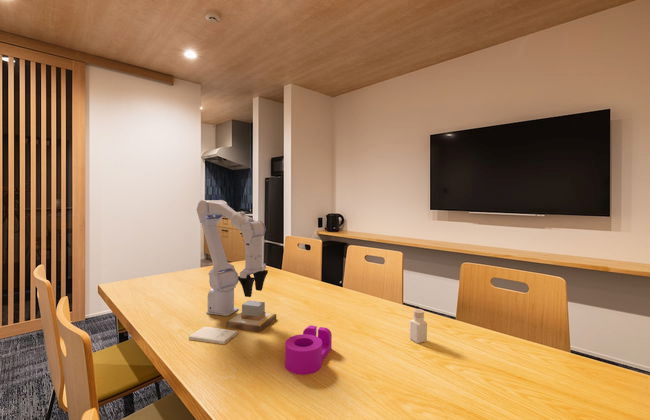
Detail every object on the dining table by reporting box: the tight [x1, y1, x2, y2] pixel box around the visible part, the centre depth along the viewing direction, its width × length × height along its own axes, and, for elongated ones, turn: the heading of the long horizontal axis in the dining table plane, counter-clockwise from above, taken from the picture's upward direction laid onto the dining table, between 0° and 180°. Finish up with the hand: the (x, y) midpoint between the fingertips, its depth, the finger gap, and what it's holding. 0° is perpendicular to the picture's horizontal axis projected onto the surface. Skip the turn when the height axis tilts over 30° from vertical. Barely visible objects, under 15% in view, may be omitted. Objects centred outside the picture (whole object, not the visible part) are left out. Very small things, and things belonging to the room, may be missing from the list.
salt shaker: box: [409, 308, 428, 344], centre depth 101 cm, size 4×4×10 cm
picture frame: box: [225, 311, 277, 333], centre depth 114 cm, size 13×12×2 cm
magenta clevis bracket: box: [284, 325, 333, 376], centre depth 89 cm, size 16×10×6 cm, turn 160°
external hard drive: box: [188, 326, 239, 345], centre depth 103 cm, size 2×8×12 cm
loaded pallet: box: [241, 299, 266, 321], centre depth 113 cm, size 7×5×5 cm, turn 73°
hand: (253, 293), depth 114 cm, fingers open, 7 cm apart
